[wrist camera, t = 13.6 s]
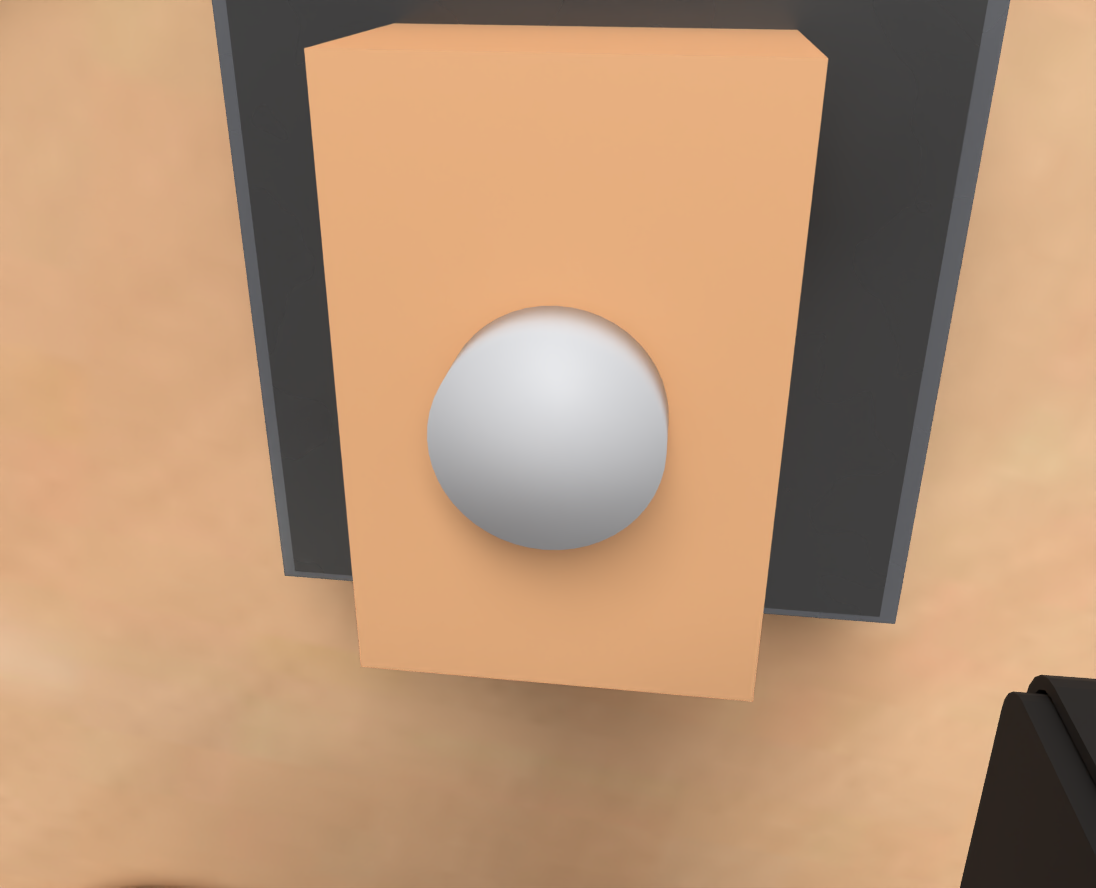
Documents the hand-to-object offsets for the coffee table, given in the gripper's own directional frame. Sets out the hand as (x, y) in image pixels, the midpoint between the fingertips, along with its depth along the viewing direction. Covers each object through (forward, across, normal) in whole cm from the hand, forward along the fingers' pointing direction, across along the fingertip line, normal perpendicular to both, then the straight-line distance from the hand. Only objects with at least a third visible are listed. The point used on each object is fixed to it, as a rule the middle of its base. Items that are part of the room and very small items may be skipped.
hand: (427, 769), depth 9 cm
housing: (+10, 0, -1) cm, 10 cm away
